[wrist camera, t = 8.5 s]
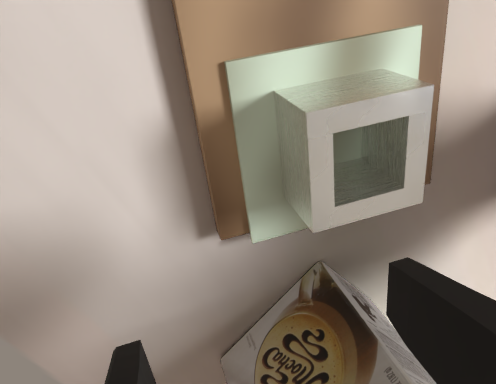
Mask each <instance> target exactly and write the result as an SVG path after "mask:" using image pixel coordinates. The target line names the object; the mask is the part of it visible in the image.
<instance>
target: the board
mask: <svg viewBox="0 0 496 384" xmlns="http://www.w3.org/2000/svg"><path fill="white" fill-rule="evenodd" d="M172 4H173V9H174V14H175V20H176V25H177V30H178V35H179V40H180V45H181V50H182V55H183V60H184V65H185V70H186V75H187V80H188V85H189V91H190V96H191V101H192V106H193V111H194V116H195V121H196V126H197V131H198V136H199V141H200V146H201V151H202V156H203V162H204V167H205V172H206V177H207V182H208V187H209V192H210V197H211V202H212V207H213V212H214V217H215V222H216V227H217V231H218V234H219V236H220V238H221V240H224V239H228V238H232V237H235V236H239V235H243V234H246V233H250V237H251V241H252V243H257V242H261V241H264V240H268V239H271V238H275V237H279V236H282V235H286V234H289V233H293V232H297V231H300V230H304V229H307V228H308V226H307V225H306V224H305V222H304V221H303V220H302V219H301V217H300V216H299V215H298V214H297V212H296V211H295V210H294V209H293V207H292V206H291V205H290V203H289V202H288V201H287V200H286V198H285V197H284V196H283V186H282V175H281V165H280V154H279V143H278V133H277V122H276V112H275V101H274V90H279V89H284V88H289V87H294V86H298V85H303V84H308V83H313V82H318V81H323V80H328V79H332V78H337V77H342V76H347V75H352V74H357V73H362V72H366V71H371V70H376V69H381V68H383V69H386V70H389V71H392V72H396V73H399V74H402V75H405V76H408V77H411V78H414V79H418V80H421V81H424V82H427V83H430V84H433V85H434V92H433V102H432V112H431V123H430V133H429V143H428V154H427V164H426V174H425V184H424V185H426V184H429V183H430V180H431V170H432V160H433V150H434V141H435V131H436V121H437V111H438V102H439V92H440V82H441V73H442V63H443V53H444V43H445V34H446V24H447V14H448V4H449V0H172ZM361 139H362V127H358V128H354V129H350V130H345V131H341V132H337V133H333V159H334V165H335V164H339V163H343V162H347V161H351V160H355V159H359V158H361Z"/></svg>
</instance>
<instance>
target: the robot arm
mask: <svg viewBox="0 0 496 384" xmlns="http://www.w3.org/2000/svg"><path fill="white" fill-rule="evenodd" d="M386 315H387V316H388V318H389V320H390V321H391V323H392V324H393V326H394V328H395V329H396V331H397V333H398V334H399V336H400V337H401V339H402V340H403V342H404V343H405V345H406V346H407V348H408V349H409V350H410V351H411V353H412V354H413V355H414V356H415V358H416V359H417V360H418V361H419V363H420V364H421V365H422V366H423V368H424V369H425V370H426V371H427V372H428V374H429V375H430V376H431V377H432V379H433V380H434V381H435V382H436V384H496V301H495V300H493V299H491V298H489V297H487V296H485V295H483V294H481V293H478V292H476V291H474V290H472V289H470V288H468V287H466V286H464V285H462V284H460V283H458V282H456V281H454V280H452V279H450V278H448V277H446V276H444V275H442V274H440V273H438V272H436V271H434V270H432V269H431V268H429V267H427V266H425V265H423V264H421V263H418V262H416V261H414V260H412V259H410V258H408V257H407V258H404V259H401V260H398V261H394V262H391V263H389V274H388V293H387V312H386ZM105 384H156V382H155V379H154V376H153V373H152V371H151V368H150V365H149V362H148V360H147V357H146V354H145V352H144V349H143V346H142V343H141V341H140V340H138V341H135V342H131V343H128V344H125V345H122V346H118V347H116V348H115V350H114V351H113V354H112V358H111V362H110V366H109V370H108V374H107V377H106V380H105Z"/></svg>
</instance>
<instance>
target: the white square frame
mask: <svg viewBox="0 0 496 384" xmlns="http://www.w3.org/2000/svg"><path fill="white" fill-rule="evenodd" d="M433 92H434V85H433V84H430V83H427V82H424V81H421V80H418V79H414V78H411V77H408V76H405V75H402V74H399V73H396V72H392V71H389V70H386V69H383V68H381V69H376V70H371V71H366V72H362V73H357V74H352V75H347V76H342V77H337V78H332V79H328V80H323V81H318V82H313V83H308V84H303V85H298V86H294V87H289V88H284V89H279V90H274V101H275V112H276V122H277V133H278V143H279V154H280V165H281V175H282V186H283V196H284V197H285V198H286V200H287V201H288V202H289V203H290V205H291V206H292V207H293V209H294V210H295V211H296V212H297V214H298V215H299V216H300V217H301V219H302V220H303V221H304V222H305V224H306V225H307V226H308V228H309V229H310V230H311V231H312V233H317V232H320V231H324V230H327V229H331V228H334V227H338V226H342V225H345V224H349V223H352V222H356V221H359V220H363V219H367V218H370V217H374V216H377V215H381V214H384V213H388V212H391V211H395V210H399V209H402V208H406V207H409V206H413V205H416V204H420V203H423V195H424V184H425V174H426V164H427V154H428V143H429V133H430V123H431V112H432V102H433ZM358 127H362V139H361V158H359V159H355V160H351V161H347V162H343V163H339V164H335V165H334V159H333V133H337V132H341V131H345V130H350V129H354V128H358Z"/></svg>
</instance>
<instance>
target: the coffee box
mask: <svg viewBox="0 0 496 384" xmlns="http://www.w3.org/2000/svg"><path fill="white" fill-rule="evenodd" d="M220 362H221V365H222V369H223V372H224V375H225V378H226V382H227V384H436V382H435V381H434V380H433V379H432V377H431V376H430V375H429V374H428V372H427V371H426V370H425V369H424V368H423V366H422V365H421V364H420V363H419V361H418V360H417V359H416V358H415V356H414V355H413V354H412V353H411V351H410V350H409V349H408V348H407V346H406V345H405V343H404V342H403V340H402V339H401V337H400V336H399V334H398V333H397V331H396V330H395V329H394V327H393V326H392V325H391V324H390V322H389V321H388V320H387V319H386V317H385V316H384V315H383V314H382V312H381V311H380V310H379V309H378V308H377V306H376V305H375V304H374V303H373V302H372V301H371V300H370V299H369V298H368V297H366V296H365V295H364V294H362V293H361V292H360V291H359V290H358V289H356V288H355V287H354V286H353V285H351V284H350V283H349V282H348V281H346V280H345V279H344V278H343V277H341V276H340V275H339V274H338V273H336V272H335V271H334V270H332V269H331V268H330V267H329V266H327V265H326V264H325V263H324V262H317V263H316V264H315V265H314V266H313V267H312V268H311V269H310V270H309V271H308V272H307V273H306V274H305V275H304V276H303V277H302V278H301V279H300V280H299V281H298V282H297V283H296V284H295V285H294V286H293V287H292V288H291V289H290V290H289V291H288V292H287V293H286V294H285V295H284V296H283V297H282V298H281V299H280V300H279V301H278V302H277V303H276V304H275V305H274V306H273V307H272V308H271V309H270V310H269V311H268V312H267V313H266V314H265V315H264V316H263V317H262V318H261V319H260V320H259V321H258V322H257V323H256V324H255V325H254V326H253V327H252V328H251V329H250V330H249V331H248V332H247V333H246V334H245V335H244V336H243V337H242V338H241V339H240V340H239V341H238V342H237V343H236V344H235V345H234V346H233V347H232V348H231V349H230V350H229V351H228V352H227V353H226V354H225V355H224V356H223V357H222V358H221V361H220Z"/></svg>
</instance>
